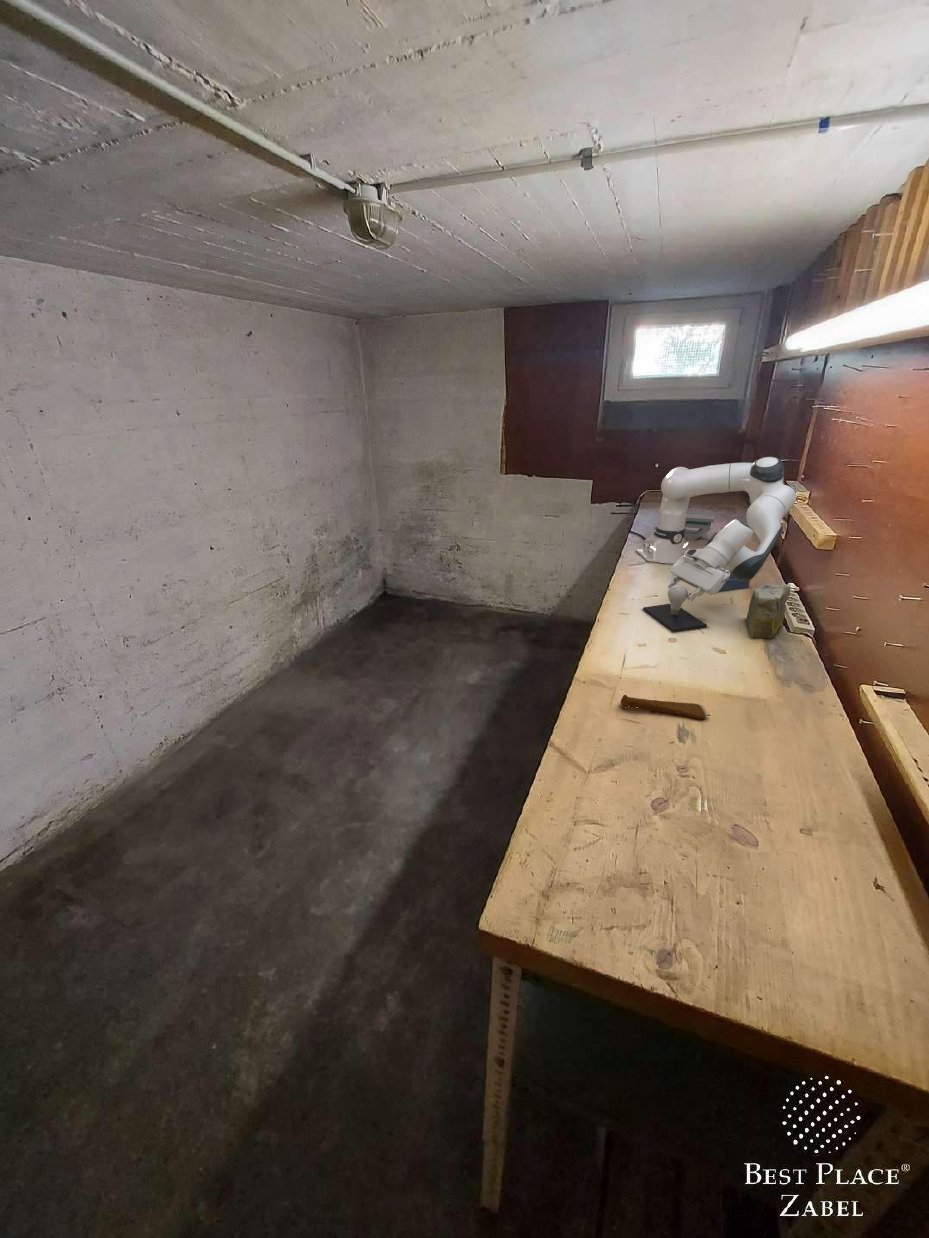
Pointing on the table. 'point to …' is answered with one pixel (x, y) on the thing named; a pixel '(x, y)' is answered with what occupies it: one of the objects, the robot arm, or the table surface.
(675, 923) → the table surface
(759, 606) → the stone block
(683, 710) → the primitive tool
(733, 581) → the blue square tray
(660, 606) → the mat
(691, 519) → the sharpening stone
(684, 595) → the lightbulb
